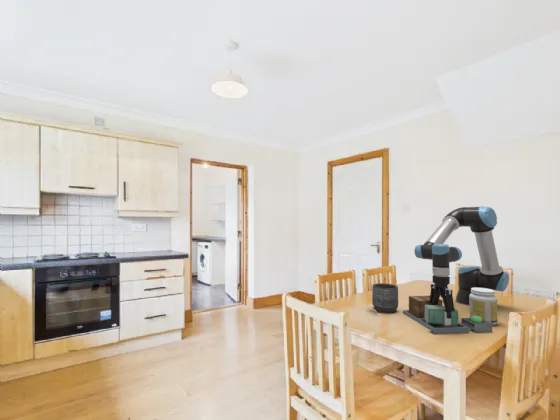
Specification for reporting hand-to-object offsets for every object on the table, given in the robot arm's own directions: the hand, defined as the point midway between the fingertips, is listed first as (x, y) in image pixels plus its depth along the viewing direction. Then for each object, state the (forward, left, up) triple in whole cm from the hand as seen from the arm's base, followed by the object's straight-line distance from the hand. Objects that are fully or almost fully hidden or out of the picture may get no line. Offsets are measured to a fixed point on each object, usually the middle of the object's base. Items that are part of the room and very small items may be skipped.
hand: (441, 321), depth 149 cm
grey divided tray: (0, -7, -3) cm, 8 cm away
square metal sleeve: (-16, +3, -3) cm, 16 cm away
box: (0, 0, -1) cm, 1 cm away
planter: (+16, -28, -3) cm, 32 cm away
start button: (-16, +3, -1) cm, 16 cm away
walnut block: (0, -14, -2) cm, 14 cm away
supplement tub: (-27, -6, -3) cm, 28 cm away
